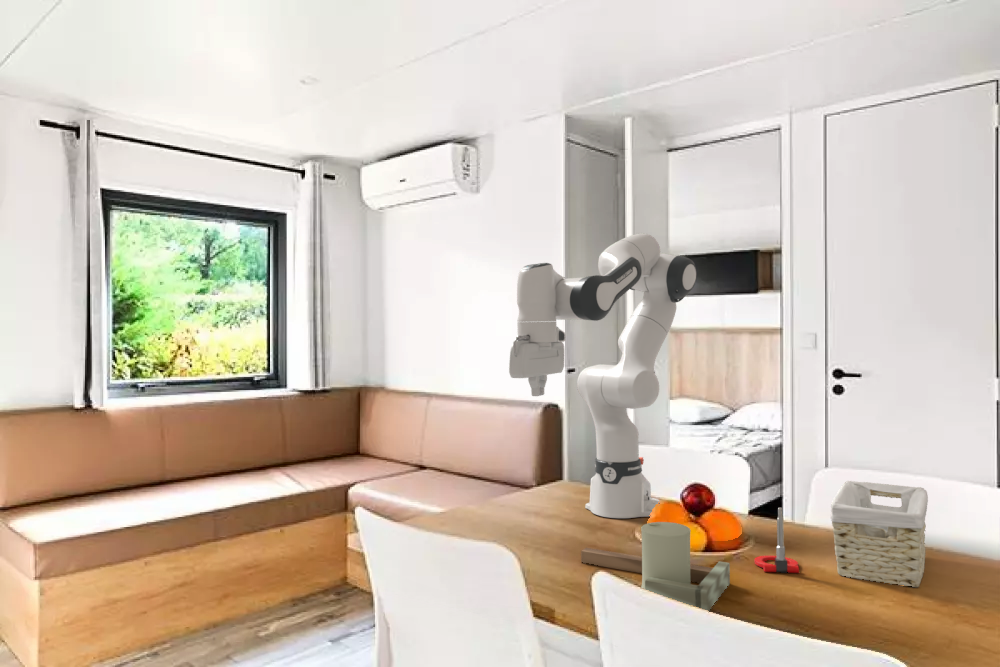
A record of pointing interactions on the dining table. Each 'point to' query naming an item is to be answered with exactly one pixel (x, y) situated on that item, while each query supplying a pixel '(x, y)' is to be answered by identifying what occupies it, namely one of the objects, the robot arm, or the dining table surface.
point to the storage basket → (880, 533)
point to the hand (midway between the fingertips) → (538, 395)
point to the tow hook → (778, 554)
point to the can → (666, 552)
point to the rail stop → (696, 595)
